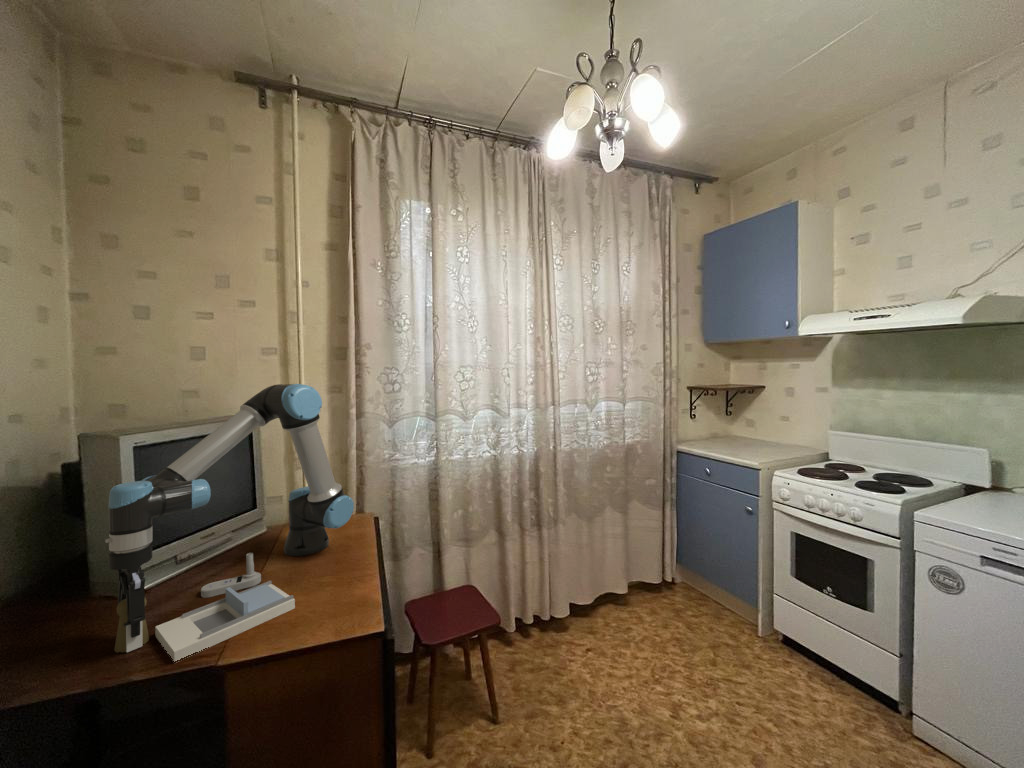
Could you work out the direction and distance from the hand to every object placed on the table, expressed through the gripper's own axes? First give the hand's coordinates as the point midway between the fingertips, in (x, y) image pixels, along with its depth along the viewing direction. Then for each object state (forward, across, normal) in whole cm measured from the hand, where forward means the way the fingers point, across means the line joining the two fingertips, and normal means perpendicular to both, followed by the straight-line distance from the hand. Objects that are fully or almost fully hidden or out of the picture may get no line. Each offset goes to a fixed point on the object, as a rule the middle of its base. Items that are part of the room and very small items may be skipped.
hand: (131, 643), depth 93 cm
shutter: (-2, +9, +23) cm, 25 cm away
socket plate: (0, +9, +17) cm, 19 cm away
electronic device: (+1, -10, +24) cm, 26 cm away
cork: (0, 0, 0) cm, 1 cm away
